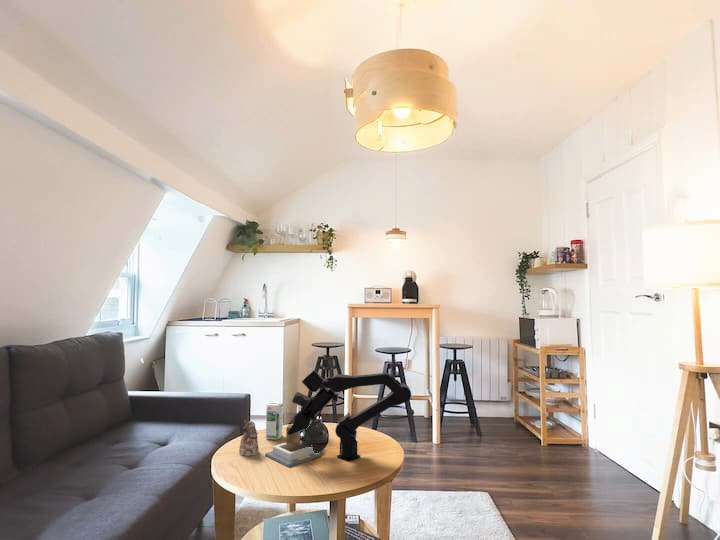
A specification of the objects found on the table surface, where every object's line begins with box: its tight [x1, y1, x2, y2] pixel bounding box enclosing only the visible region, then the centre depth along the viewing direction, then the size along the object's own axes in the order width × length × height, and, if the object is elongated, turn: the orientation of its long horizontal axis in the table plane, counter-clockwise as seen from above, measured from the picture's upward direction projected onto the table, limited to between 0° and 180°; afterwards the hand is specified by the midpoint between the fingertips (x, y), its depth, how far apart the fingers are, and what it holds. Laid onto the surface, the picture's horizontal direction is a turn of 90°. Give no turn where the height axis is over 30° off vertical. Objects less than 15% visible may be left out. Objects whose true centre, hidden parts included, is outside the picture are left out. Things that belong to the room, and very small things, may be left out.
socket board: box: [264, 442, 322, 468], centre depth 154 cm, size 15×15×4 cm
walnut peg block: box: [285, 423, 301, 452], centre depth 155 cm, size 4×4×10 cm
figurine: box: [238, 420, 259, 457], centre depth 158 cm, size 7×7×12 cm
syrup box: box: [265, 401, 284, 441], centre depth 176 cm, size 6×6×14 cm
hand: (291, 430), depth 155 cm, fingers open, 9 cm apart
